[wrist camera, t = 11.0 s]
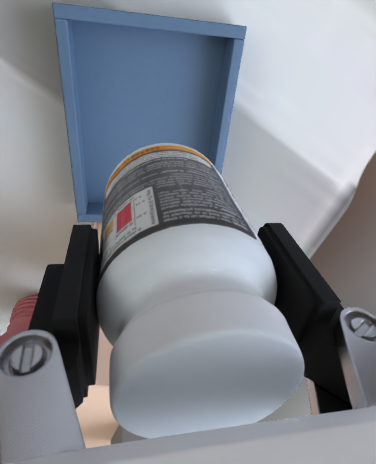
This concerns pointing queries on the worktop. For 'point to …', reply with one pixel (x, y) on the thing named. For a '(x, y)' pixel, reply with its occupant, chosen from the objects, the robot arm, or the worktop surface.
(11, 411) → the robot arm
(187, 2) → the worktop surface
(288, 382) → the pill bottle
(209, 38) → the tray
